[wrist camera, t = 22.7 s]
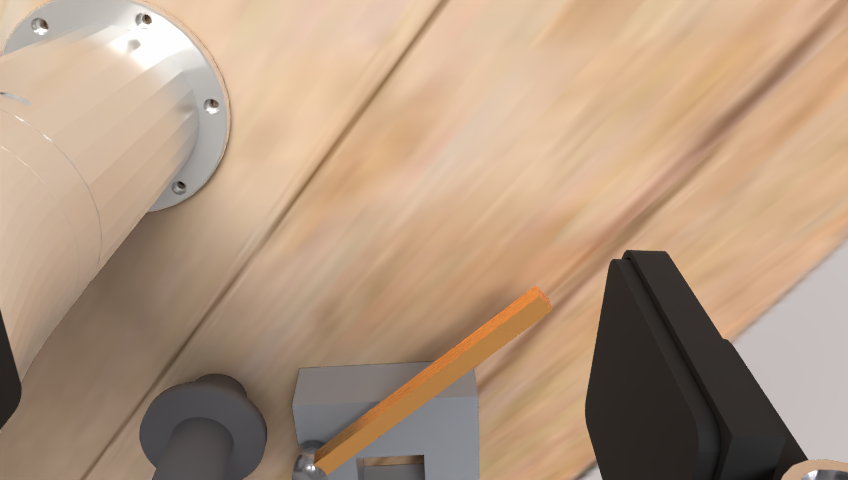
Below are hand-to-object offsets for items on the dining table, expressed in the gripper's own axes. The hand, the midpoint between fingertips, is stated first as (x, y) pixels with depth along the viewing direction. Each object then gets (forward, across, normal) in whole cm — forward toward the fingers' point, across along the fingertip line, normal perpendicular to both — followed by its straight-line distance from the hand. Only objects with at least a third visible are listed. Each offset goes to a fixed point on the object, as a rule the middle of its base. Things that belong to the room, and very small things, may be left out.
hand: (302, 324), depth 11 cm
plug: (+31, +12, +27) cm, 43 cm away
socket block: (+31, 0, +31) cm, 44 cm away
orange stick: (+27, -2, +22) cm, 35 cm away
